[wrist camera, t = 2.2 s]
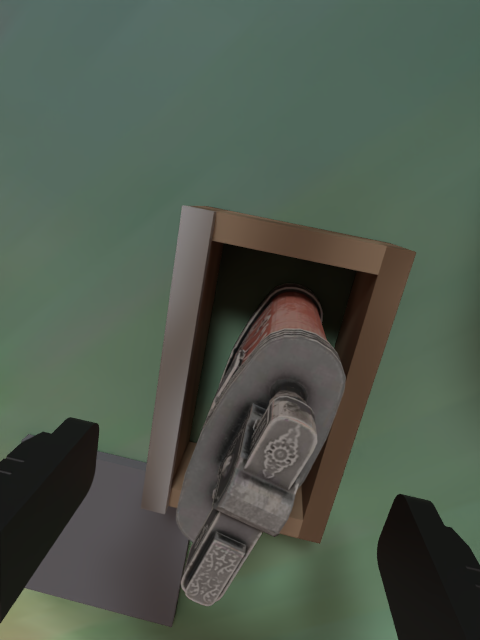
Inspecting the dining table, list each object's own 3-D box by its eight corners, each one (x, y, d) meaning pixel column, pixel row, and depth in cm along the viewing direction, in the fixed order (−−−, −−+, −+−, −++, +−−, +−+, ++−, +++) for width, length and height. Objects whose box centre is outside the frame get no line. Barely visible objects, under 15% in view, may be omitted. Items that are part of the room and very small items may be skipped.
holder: (389, 243, 16) (421, 253, 12) (314, 487, 20) (321, 553, 16) (206, 206, 17) (182, 205, 13) (167, 452, 20) (140, 508, 17)
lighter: (270, 270, 17) (251, 349, 8) (338, 302, 17) (403, 420, 8) (202, 410, 20) (123, 603, 10) (261, 438, 20) (238, 656, 10)
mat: (201, 476, 21) (199, 483, 20) (174, 617, 24) (171, 627, 23) (28, 434, 21) (21, 440, 21) (25, 577, 25) (19, 586, 24)
